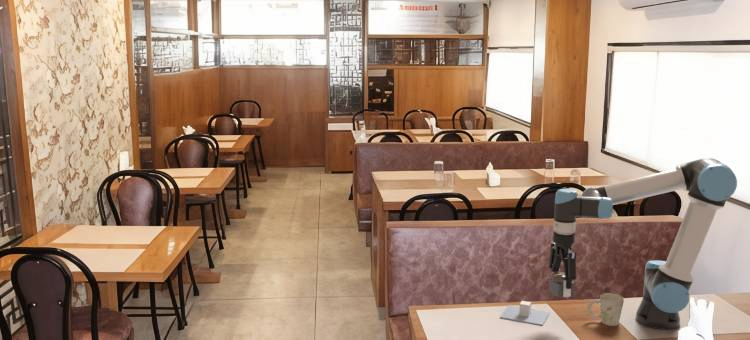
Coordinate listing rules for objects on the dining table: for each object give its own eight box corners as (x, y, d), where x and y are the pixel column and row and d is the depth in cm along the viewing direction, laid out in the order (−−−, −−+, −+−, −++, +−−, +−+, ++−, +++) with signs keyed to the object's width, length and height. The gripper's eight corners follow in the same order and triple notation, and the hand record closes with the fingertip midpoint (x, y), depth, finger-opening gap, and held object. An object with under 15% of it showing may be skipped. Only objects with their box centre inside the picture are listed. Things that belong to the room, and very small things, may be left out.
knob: (563, 289, 246) (565, 269, 244) (574, 296, 239) (576, 276, 237) (546, 291, 244) (547, 271, 242) (557, 298, 237) (558, 278, 235)
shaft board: (549, 313, 254) (550, 300, 253) (542, 325, 242) (543, 312, 241) (508, 305, 261) (508, 293, 260) (499, 317, 249) (500, 305, 248)
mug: (623, 328, 241) (625, 302, 239) (587, 325, 243) (589, 299, 241) (620, 319, 249) (622, 294, 247) (585, 316, 251) (587, 291, 249)
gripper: (540, 225, 245) (538, 284, 250) (569, 240, 226) (566, 303, 231) (558, 224, 247) (555, 282, 252) (589, 239, 228) (585, 301, 232)
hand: (560, 292), depth 241 cm, fingers closed on knob, 7 cm apart
